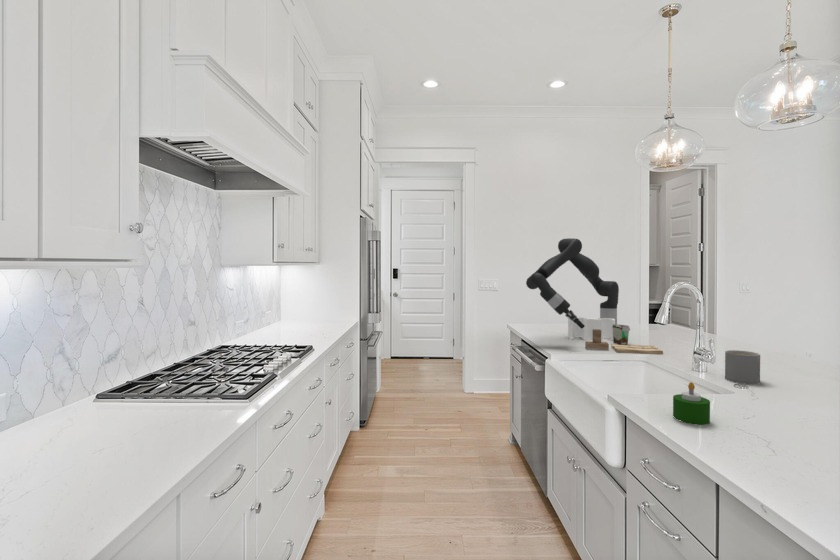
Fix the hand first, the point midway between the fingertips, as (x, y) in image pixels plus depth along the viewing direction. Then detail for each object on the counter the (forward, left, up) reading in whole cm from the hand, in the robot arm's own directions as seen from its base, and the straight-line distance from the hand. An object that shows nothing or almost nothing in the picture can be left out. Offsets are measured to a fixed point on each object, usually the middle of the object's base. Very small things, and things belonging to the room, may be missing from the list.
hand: (582, 326), depth 211 cm
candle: (+99, +15, -12) cm, 101 cm away
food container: (-18, +23, -12) cm, 31 cm away
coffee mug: (+50, +48, -12) cm, 70 cm away
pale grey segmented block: (-31, +9, -12) cm, 35 cm away
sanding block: (0, +7, -12) cm, 14 cm away
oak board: (0, +25, -11) cm, 27 cm away
